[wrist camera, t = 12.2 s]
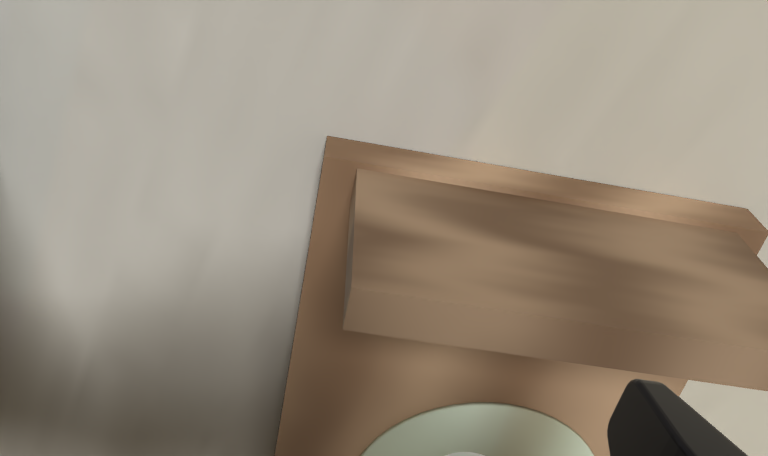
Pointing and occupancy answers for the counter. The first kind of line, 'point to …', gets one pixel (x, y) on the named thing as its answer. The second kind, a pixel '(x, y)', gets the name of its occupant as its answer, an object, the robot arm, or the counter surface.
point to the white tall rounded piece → (464, 454)
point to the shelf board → (507, 307)
